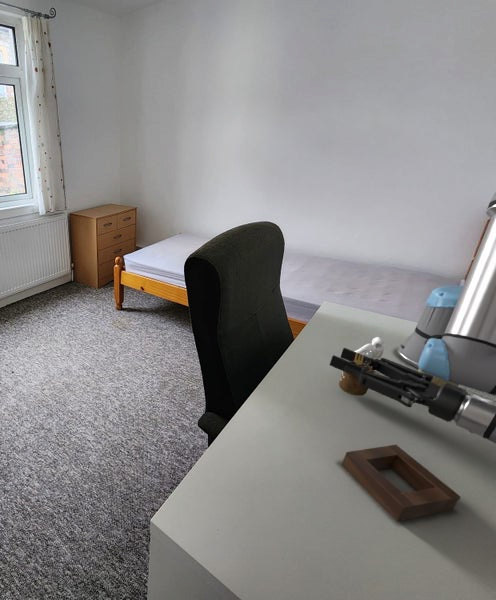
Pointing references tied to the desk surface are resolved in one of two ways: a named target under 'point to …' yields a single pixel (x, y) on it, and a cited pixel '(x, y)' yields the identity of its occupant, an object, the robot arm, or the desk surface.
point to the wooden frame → (402, 505)
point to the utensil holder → (354, 378)
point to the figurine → (373, 349)
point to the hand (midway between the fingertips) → (337, 356)
